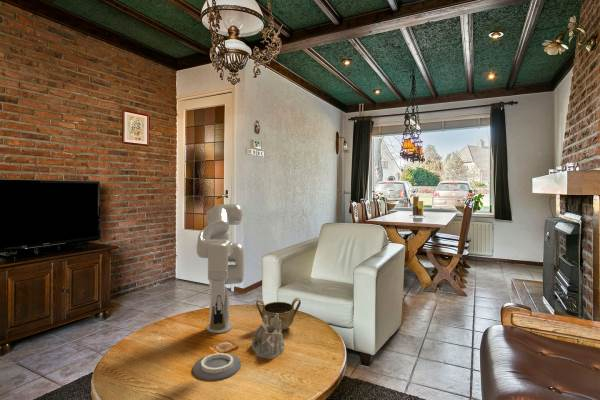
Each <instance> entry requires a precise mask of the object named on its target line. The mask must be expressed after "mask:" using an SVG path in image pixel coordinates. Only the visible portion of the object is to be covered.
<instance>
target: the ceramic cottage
mask: <svg viewBox="0 0 600 400" xmlns="http://www.w3.org/2000/svg"><path fill="white" fill-rule="evenodd" d="M282 332H283V330H282V323H281V320H279V314H278V313H277V314H276V315H275V316H274V318H271V321H270V326H269V325H268V317H267V316H266V315H265V316H264V319H263V320H262V323H261V324H260V326H259V327H258V328H257V329H256V330H255V331H254V332H253V333H252V335H253V338H252V341H251V346H250V347H251V348H252V350H253V351H254V353H255V354H256V356H257V357H258V358H262V359H267V360H272V359H275V358H276V357H278V356H280V355H282V354H283V353H284V351H285V341H284V335H283V333H282Z"/></svg>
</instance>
